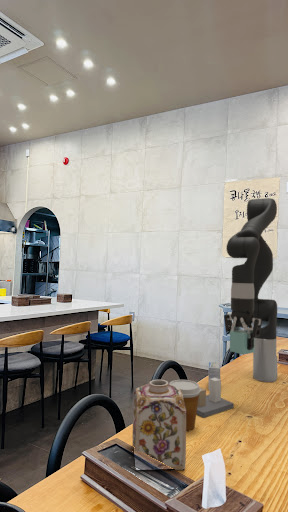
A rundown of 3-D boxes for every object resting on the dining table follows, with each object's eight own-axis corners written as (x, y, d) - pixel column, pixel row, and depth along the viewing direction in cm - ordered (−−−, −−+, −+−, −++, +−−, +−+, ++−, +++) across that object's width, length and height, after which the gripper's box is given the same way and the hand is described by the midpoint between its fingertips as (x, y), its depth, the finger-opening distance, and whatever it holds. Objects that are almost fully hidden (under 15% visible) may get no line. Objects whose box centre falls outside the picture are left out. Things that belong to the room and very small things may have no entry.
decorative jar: (186, 471, 77) (187, 390, 78) (134, 472, 76) (136, 390, 77) (176, 444, 89) (178, 374, 89) (132, 445, 88) (133, 374, 89)
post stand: (211, 398, 121) (211, 373, 121) (233, 407, 113) (233, 381, 113) (181, 406, 113) (181, 380, 113) (203, 417, 105) (203, 389, 105)
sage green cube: (240, 348, 117) (240, 329, 118) (254, 352, 113) (254, 332, 113) (229, 351, 114) (230, 331, 114) (243, 354, 110) (243, 333, 110)
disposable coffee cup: (202, 422, 102) (203, 381, 102) (196, 437, 93) (197, 392, 93) (171, 417, 105) (172, 377, 105) (163, 431, 96) (163, 387, 96)
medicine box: (220, 391, 128) (220, 368, 128) (208, 390, 128) (208, 367, 129) (219, 384, 135) (220, 362, 136) (208, 383, 136) (208, 361, 136)
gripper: (268, 298, 111) (267, 350, 110) (232, 294, 122) (232, 342, 122) (254, 298, 106) (253, 353, 106) (218, 295, 118) (217, 345, 117)
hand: (242, 347), depth 114 cm, fingers closed on sage green cube, 5 cm apart
